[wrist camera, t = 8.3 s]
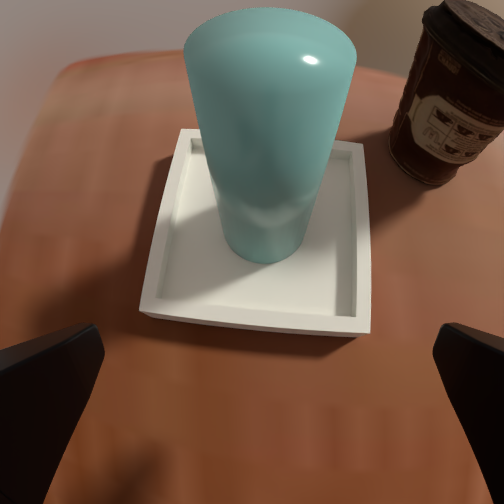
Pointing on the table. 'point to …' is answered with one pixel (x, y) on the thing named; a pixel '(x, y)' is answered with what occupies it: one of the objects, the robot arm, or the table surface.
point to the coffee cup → (451, 92)
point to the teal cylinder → (267, 120)
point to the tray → (262, 275)
